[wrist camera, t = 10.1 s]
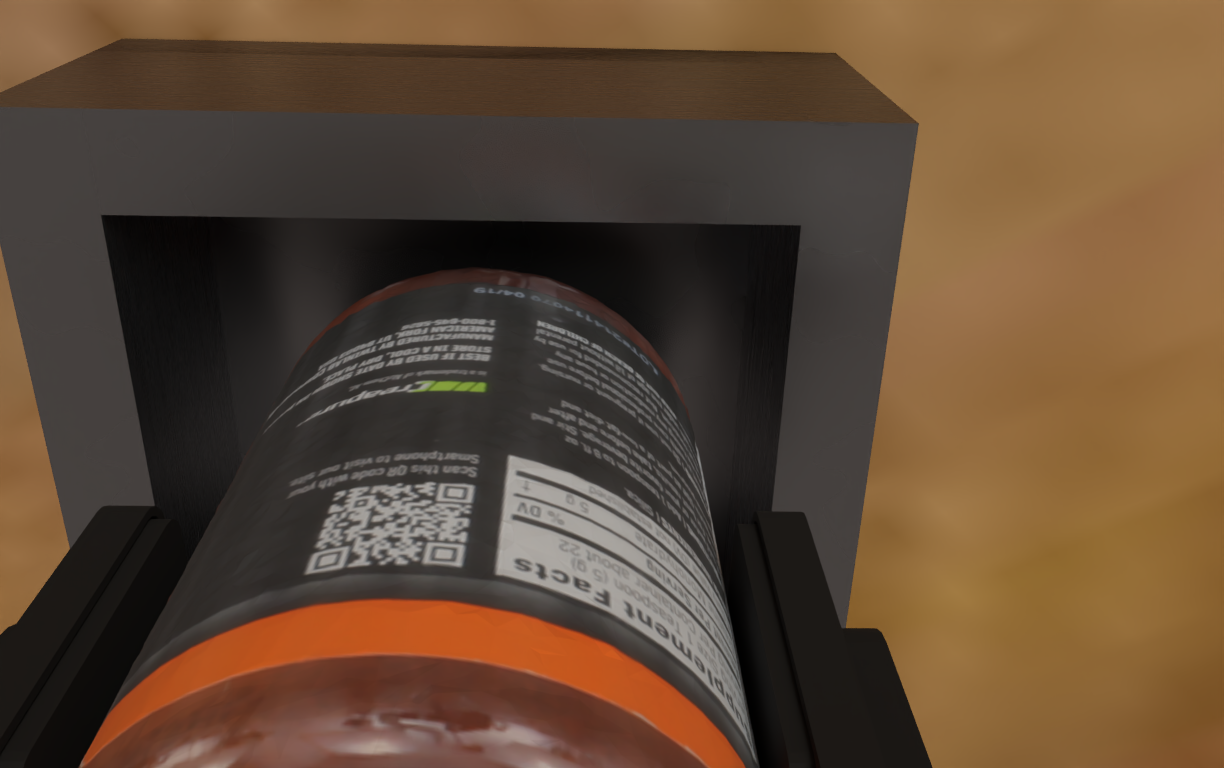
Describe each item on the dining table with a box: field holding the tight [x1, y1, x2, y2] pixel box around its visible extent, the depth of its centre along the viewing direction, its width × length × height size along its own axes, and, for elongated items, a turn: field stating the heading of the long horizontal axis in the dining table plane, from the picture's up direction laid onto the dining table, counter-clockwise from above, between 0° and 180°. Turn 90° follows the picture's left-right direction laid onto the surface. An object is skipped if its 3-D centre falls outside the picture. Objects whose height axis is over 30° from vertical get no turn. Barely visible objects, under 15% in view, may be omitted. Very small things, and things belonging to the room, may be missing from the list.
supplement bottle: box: [78, 267, 760, 768], centre depth 11 cm, size 6×6×11 cm
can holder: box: [0, 39, 919, 628], centre depth 17 cm, size 10×10×4 cm
